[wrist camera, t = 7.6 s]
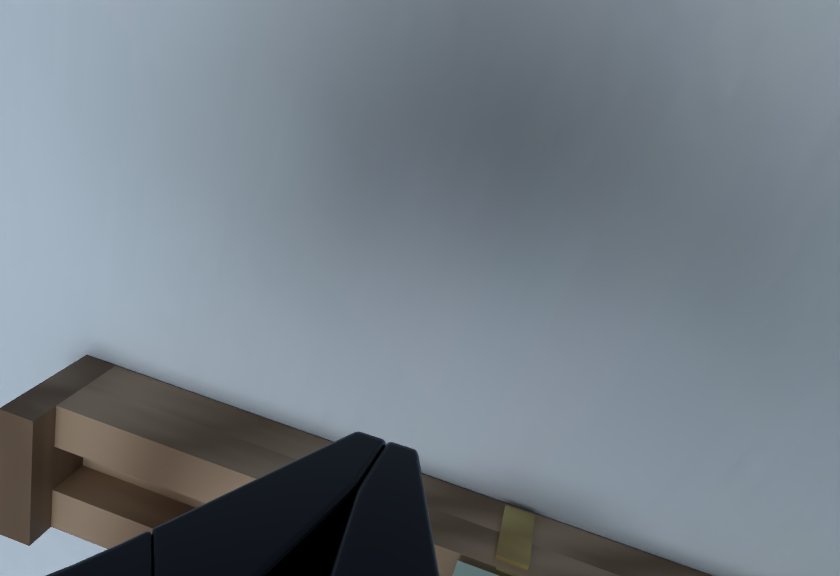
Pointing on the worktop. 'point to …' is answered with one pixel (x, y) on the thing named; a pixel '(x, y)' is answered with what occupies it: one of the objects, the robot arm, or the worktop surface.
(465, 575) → the block
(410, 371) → the worktop surface
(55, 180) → the worktop surface
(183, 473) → the rail
